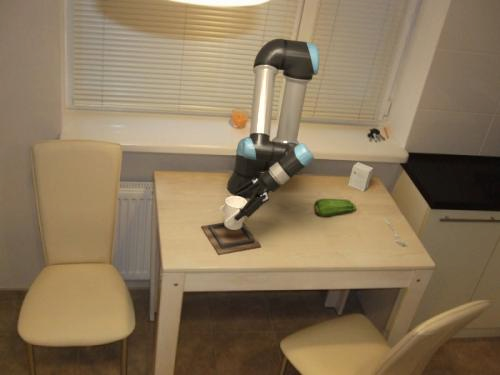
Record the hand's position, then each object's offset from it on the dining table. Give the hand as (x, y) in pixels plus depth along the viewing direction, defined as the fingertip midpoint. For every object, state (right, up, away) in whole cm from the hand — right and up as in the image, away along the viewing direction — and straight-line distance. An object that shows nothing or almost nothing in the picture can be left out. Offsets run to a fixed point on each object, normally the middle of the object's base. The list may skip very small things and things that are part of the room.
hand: (225, 216), depth 195 cm
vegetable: (+44, 0, +33) cm, 55 cm away
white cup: (+3, -3, +3) cm, 5 cm away
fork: (+67, -7, +28) cm, 73 cm away
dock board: (+2, -8, +7) cm, 11 cm away
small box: (+59, +11, +55) cm, 81 cm away
